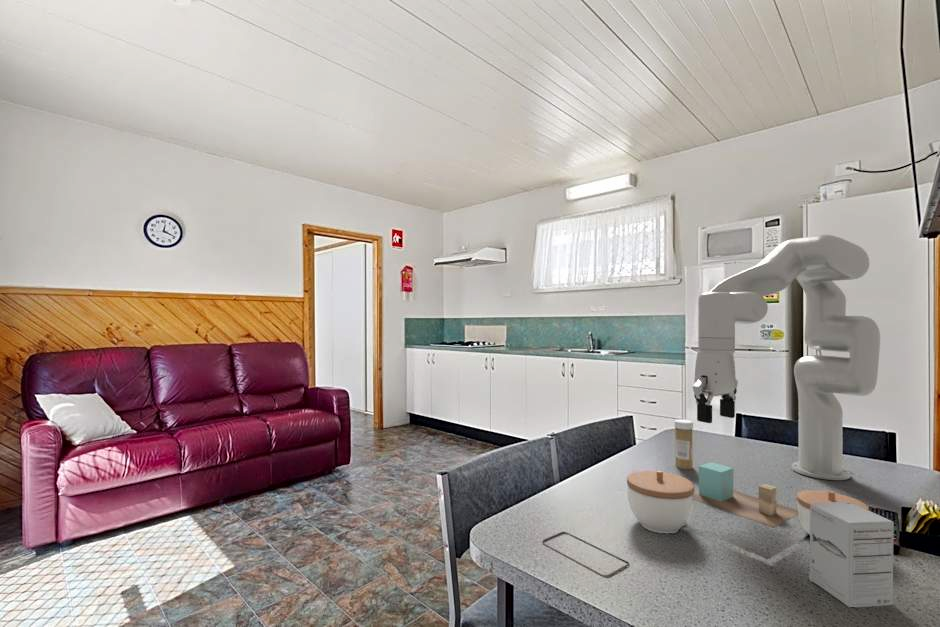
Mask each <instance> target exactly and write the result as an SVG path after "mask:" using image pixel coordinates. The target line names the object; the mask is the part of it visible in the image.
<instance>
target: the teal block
mask: <svg viewBox="0 0 940 627" xmlns="http://www.w3.org/2000/svg"><path fill="white" fill-rule="evenodd" d="M698 490H699V494H700V495H703V496H706V497H709V498H712V499H715V500H718V501H721V502H722V501H724V500H727V499H729V498H732V497H733V491H734V467H730V466H726V465H723V464H721V463H716V462H713V461H712V462H711V461H710V462H707V463H704V464H700V465H699V466H698Z"/></svg>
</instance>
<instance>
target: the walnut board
mask: <svg viewBox="0 0 940 627" xmlns="http://www.w3.org/2000/svg"><path fill="white" fill-rule="evenodd" d="M693 501H696V502H699V503H702V504H704V505H709V506H711V507H714V508H717V509H720V510H722V511H725V512H728V513H731V514H733V515H738V516H740V517H743V518H745V519H748V520H750V521H754V522H757V523H760V524H763V525H764V526H769V527H771V528H776V527H778V526H779V525H781V524H783V523H785V522H787V521H789V520H791V519H793V518H794V517H796V516H799V514H798V509H794V508H791V507H788V506H786V505H783V504H782V505H781V504H779V503H776V513H775V514H773V515H767V514H764V513H761V512H759V497H756V496H753V495H749V494H746V493H742V492H739V491H737V490H736V491H735V490H733V497H732V498H729V499H727V500H724V501H722V502H721V501H718V500H715V499H712V498H709V497H706V496H703V495H700V494H699V489H698V490H696V491H694V493H693Z"/></svg>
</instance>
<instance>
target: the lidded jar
mask: <svg viewBox="0 0 940 627" xmlns="http://www.w3.org/2000/svg"><path fill="white" fill-rule="evenodd" d="M796 500H797V510H798V518H799V521H800V523H801V525H802V527H803V528H804V531H805V532H807V534H808V535H809V536H810V504H811V503H828V502H851V503H853V504H855V505H857V506H860V507H862V508H864V509H866V510H869V511H870V508H869V506H868V505H867V504H865V502H862V501H860V500H858V499H856V498H853V497H850V496H849V495H848V496H847V495H844V494H840V493H837V492H835V491H833V490H828V491H825V490H802V491H800V492H797V494H796Z"/></svg>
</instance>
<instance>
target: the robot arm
mask: <svg viewBox="0 0 940 627" xmlns="http://www.w3.org/2000/svg"><path fill="white" fill-rule="evenodd" d="M869 268H870V258H869V255H868V253H867V251H866V250H865V249H864V248H863V247H861V246H859V245H858V244H855V243H853V242H851V241H848V240H846V239H844V238H841V237H839V236H836V235H832V234H831V235H830V234H820V235H819V234H817V235H813V236H803V237H798V238H791V239H787V240H785V241H783V242H781V243H780V244H779V245H778V246H777V247H775V248H774V249H773V250H772V251H770V253H769V254H767V255H766V256H765V257H764V258H763V259H762V260H761V261H759V263H757V264H756V265H755V266H752V267H751V268H748V269H746V270H742V271H741V272H739V273H736V274H734V275H732V276H729V277H728V278H726V279H724V280H722V281H721V282H719V283H718V284H716V285H715V286H714V287H713V288H712V289H710V291H708V292H703V293H701V294H700V295H699V296H698V305H697V306H698V309H697V310H698V312H697V318H698V319H697V320H698V322H697V326H698V328H697V330H698V332H697V334H698V340H697V341H698V343H697V345H698V346H697V348H698V351H697V355H696V360H695V368H694V380H693V381H694V383H693V384H694V385H692V390H693V394H694V399H695V403H696V419H697V421H698V422H701V423H706V424H712V423H713V405H712V404H711V403H712V401H713V398H714V397H721V398H720V399H719V416H720V417H725V418H730V419H734V418H735V417H736V416H735V415H736V411H735V410H736V409H735V408H736V407H735V406H736V405H735V404H736V403H735V402H736V399H737V396H736V395H737V392H738V391H737V390H738V384H739V381H738V380H737V378H736V364H735V362H736V361H735V356H734V353H736V325H737V324H738V325H739V324H741V325H742V324H746V325H747V324H755V323H758V322H761V320H763V319H764V318H765V317H766V315H767V314H768V308H769V307H768V306H769V305H768V302H767V300H766V298H765V297H766V296H770V295H774V294H777V293H780V292H782V291H783V290H785V289H787V288H788V286H789V285H790V284H791V283H792V282H793V281H795V279H796V281H797V282H798V284H799V285H800V286H801V288H802V290H803V291H804V293H805V296H806V312H805V313H806V314H805V323H804V338H803V339H804V343H805V344H806V346H807V347H809V348H810V349H813V350H816V351H824V352H838V353H849V357H842V356H834V355H833V356H831V355H823V354H822V355H819V354H817V355H816V354H813V355H804V356H802V357H800V358H798V359H797V360H796V361H795V364H794V367H793V374H794V379H795V380H794V381H795V386H796V389H797V391H796V392H797V399H798V402H797V403H798V416H797V417H798V461H794V462H792V464H791V468H792V470H793V471H794V472H796V473H798V474H800V475H804V476H807V477H811V478H815V479H821V480H829V481H844V480H845V481H846V480H848V479H851V472H850V471H848V469H846V468H843V467H844V466H843V463H844V462H843V460H844V456H843V454H844V453H843V418H844V417H843V408H842V406H841V403H840V401H839V400H838V398H837V396H835V394H840V395H848V396H855V397H864V396H865V397H866V396H868V395H871V394H872V393H873V392H874V390H875V389H876V386H877V383H878V375H879V374H878V373H879V360H880V349H881V332H880V328H879V326H878V324H877V323H876V321H875V320H874V319H872V318H871V317H868V316H864V315H846V311H847V308H846V307H847V297H846V295H845V294H844V292H843V290H842V289H841V288H840V287H839V286H838V285H837V283H835V281H852V280H857V279H860V278H862V277H863V276H865V274H866V273H867V272H868V271H869Z"/></svg>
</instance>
